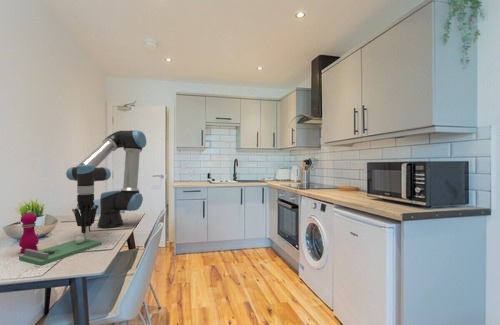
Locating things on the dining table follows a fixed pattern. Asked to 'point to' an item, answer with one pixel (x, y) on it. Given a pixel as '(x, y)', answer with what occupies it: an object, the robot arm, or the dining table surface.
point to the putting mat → (57, 252)
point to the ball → (79, 239)
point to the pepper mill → (28, 232)
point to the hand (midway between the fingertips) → (85, 238)
